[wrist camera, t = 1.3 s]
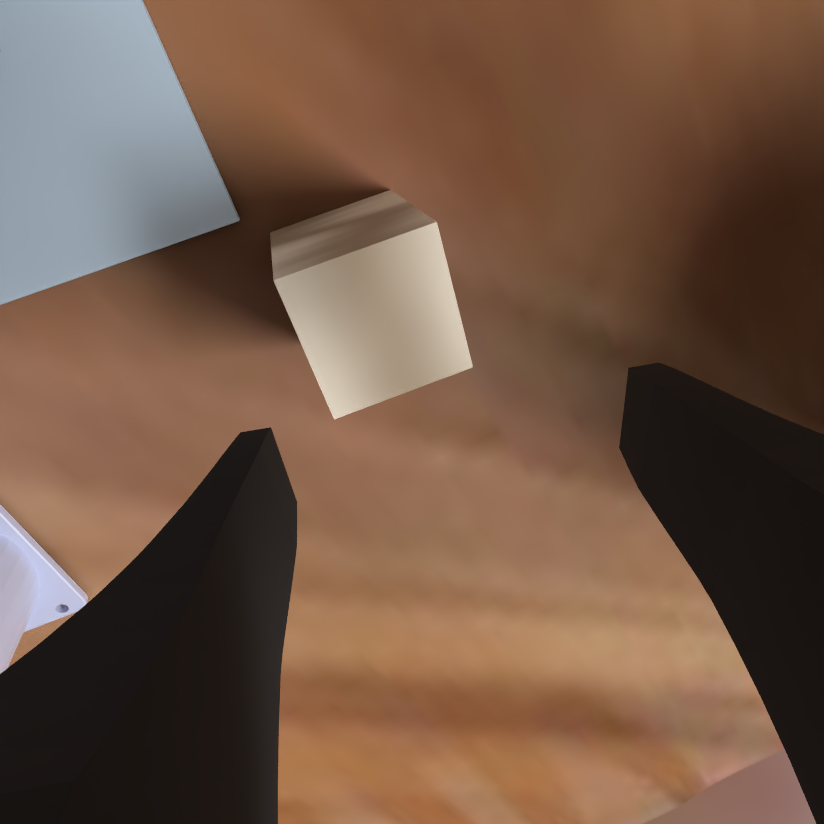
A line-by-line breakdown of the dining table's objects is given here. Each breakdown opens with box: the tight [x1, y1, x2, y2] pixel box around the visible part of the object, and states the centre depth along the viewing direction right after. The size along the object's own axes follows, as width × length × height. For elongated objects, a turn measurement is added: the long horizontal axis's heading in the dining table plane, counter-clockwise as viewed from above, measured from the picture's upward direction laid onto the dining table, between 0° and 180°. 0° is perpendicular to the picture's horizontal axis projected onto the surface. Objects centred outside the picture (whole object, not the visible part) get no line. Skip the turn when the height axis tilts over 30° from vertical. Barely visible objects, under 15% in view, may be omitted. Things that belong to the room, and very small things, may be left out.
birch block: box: [270, 190, 473, 419], centre depth 18 cm, size 4×4×6 cm
